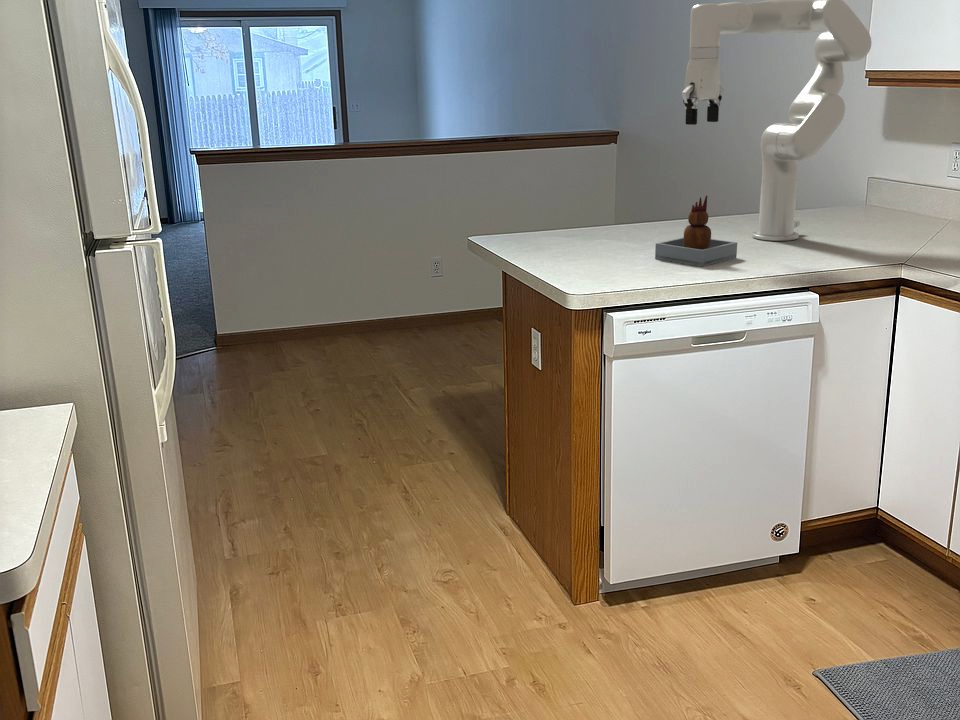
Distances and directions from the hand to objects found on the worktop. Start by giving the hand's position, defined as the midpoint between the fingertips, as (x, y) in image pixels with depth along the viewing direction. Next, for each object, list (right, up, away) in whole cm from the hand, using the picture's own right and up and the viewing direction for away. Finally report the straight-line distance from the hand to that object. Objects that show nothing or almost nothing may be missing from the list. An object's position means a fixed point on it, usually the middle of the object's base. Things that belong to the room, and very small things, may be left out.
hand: (702, 123), depth 243 cm
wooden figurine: (-3, -36, -7) cm, 36 cm away
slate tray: (-3, -36, -6) cm, 37 cm away
